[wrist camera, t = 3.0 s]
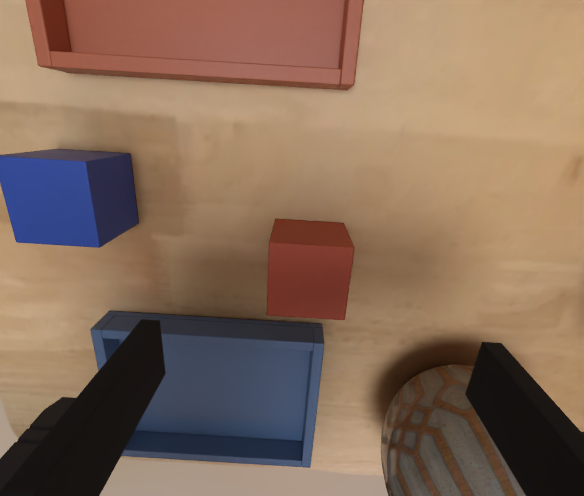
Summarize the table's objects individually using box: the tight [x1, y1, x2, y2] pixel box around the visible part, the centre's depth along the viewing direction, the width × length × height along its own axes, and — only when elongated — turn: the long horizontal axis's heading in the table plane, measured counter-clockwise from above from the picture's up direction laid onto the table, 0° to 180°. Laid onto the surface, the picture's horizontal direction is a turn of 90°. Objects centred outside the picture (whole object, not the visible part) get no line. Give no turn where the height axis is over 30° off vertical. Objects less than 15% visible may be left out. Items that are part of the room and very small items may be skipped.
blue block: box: [0, 149, 138, 247], centre depth 21 cm, size 5×5×5 cm
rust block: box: [267, 219, 354, 320], centre depth 22 cm, size 5×5×5 cm
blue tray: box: [91, 311, 324, 468], centre depth 28 cm, size 18×14×3 cm
